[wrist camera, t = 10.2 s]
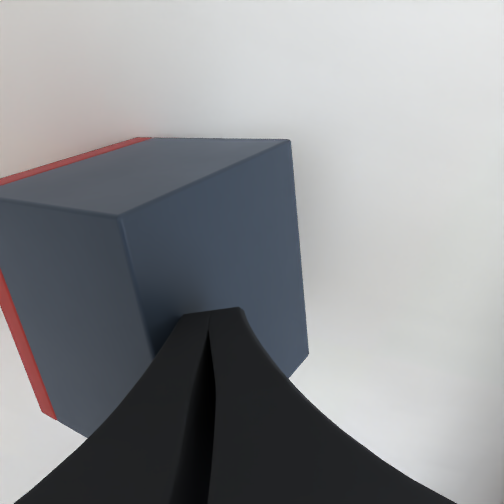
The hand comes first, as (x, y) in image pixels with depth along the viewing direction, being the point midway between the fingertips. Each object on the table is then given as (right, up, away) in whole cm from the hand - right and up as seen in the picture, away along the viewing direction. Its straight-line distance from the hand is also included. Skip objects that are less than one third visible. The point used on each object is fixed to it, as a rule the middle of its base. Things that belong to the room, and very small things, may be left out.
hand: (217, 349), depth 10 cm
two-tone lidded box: (+1, +1, +1) cm, 2 cm away
